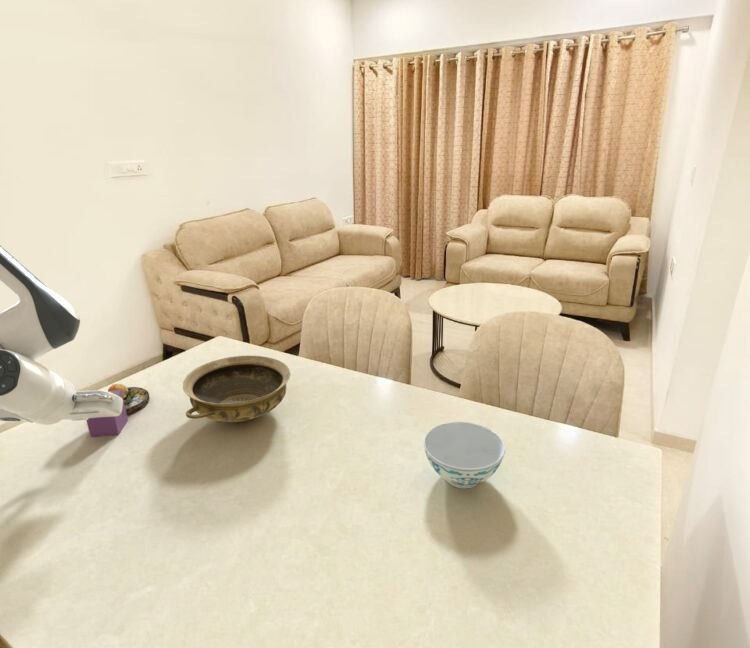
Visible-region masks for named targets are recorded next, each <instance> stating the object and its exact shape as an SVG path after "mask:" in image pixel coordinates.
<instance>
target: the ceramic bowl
mask: <svg viewBox="0 0 750 648" xmlns="http://www.w3.org/2000/svg"><path fill="white" fill-rule="evenodd" d="M290 377H291V370H290V368H289V366H288V365H287V364H286V363H284V362H282V361H281V360H278V359H276V358H273V357H268V356H262V355H250V354H249V355H235V356H234V355H233V356H229V357H224V358H220V359H215V360H211V361H209V362H207V363H204V364H202V365H200V366H198V367H196V368H194V369H193V370H192V371H190V372H189V373H188V374H187V375H186V376H185V377H184V379H183V382H182V390H183V392H184V394H185V395H187V396H188V397H189V402H190V404H191V407H192V408H189V409H188V410H187V411H186V412H185V416H186V418H188V419H191V420H199V419H203V418H206V419H210V420H213V421H215V422H223V423H226V422H228V423H244V422H245V423H246V422H248V421H251V420H253V419H256V418H259V417H261V416H263V415H266V414H268V413H269V412H271V411H273V410H274V409H276V407H277V406H279V404H281V403H282V401H283V400H284V398H285V396H286V394H287V383H288V382H289V381H290ZM193 413H197V414H193Z"/></svg>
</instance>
